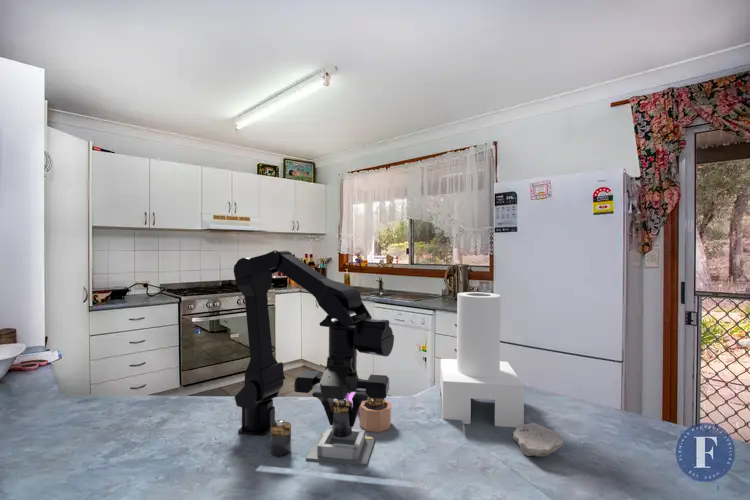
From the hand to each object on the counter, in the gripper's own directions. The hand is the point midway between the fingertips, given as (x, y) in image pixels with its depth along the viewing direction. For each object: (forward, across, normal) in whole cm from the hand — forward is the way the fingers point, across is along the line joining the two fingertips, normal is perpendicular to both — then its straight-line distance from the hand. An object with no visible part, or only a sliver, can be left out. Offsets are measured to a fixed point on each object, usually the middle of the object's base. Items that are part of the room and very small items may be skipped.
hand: (342, 425), depth 78 cm
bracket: (+6, -2, +24) cm, 25 cm away
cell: (+2, 0, 0) cm, 2 cm away
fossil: (+6, +40, +8) cm, 41 cm away
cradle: (+6, 0, 0) cm, 6 cm away
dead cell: (+5, +5, +12) cm, 14 cm away
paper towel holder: (+6, +30, +27) cm, 41 cm away
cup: (+6, +5, +12) cm, 14 cm away
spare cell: (+6, -12, -3) cm, 14 cm away
